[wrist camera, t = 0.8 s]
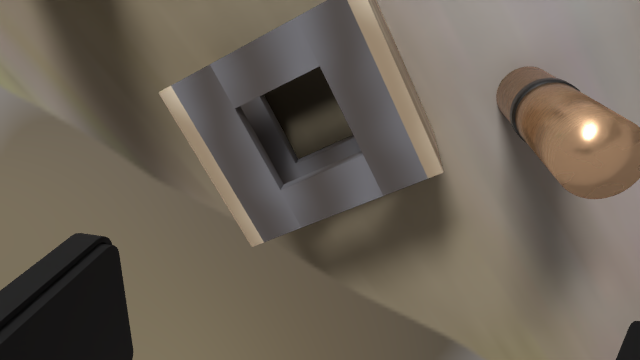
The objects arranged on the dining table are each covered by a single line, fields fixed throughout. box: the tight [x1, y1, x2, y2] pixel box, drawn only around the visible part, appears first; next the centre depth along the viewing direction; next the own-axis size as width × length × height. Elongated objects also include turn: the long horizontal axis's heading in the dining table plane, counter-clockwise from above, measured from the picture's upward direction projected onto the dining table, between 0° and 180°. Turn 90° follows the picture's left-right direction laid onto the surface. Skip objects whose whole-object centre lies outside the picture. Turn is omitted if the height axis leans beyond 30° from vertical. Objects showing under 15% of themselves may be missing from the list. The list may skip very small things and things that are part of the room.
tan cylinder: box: [496, 67, 640, 199], centre depth 28 cm, size 4×4×14 cm
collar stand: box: [159, 0, 444, 247], centre depth 33 cm, size 14×12×8 cm
